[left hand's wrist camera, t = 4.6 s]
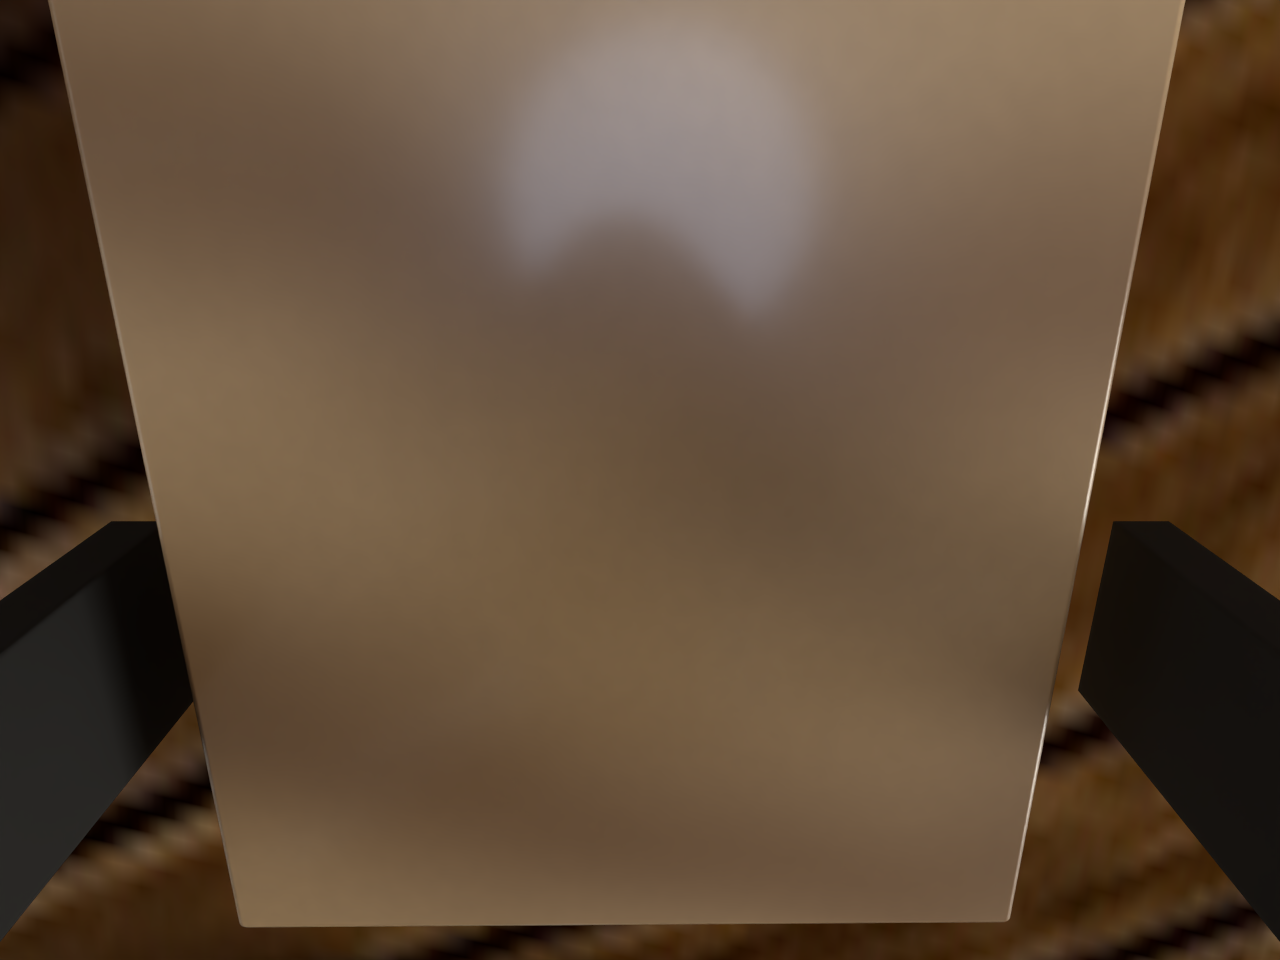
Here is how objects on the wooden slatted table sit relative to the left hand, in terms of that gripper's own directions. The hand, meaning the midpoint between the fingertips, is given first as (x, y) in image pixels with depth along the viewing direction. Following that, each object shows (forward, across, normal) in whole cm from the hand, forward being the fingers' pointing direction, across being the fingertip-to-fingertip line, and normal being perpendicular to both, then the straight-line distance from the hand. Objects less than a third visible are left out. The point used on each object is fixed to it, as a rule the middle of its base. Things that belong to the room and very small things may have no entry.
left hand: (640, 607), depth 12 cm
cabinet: (+9, 0, -5) cm, 11 cm away
